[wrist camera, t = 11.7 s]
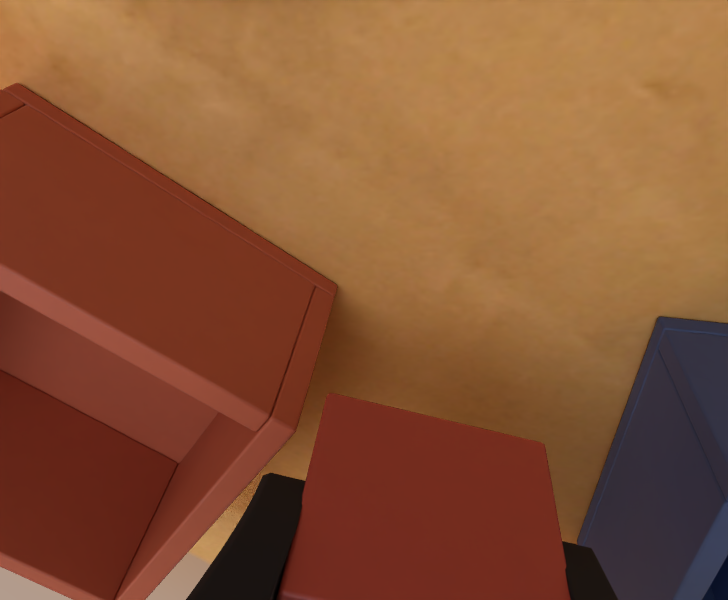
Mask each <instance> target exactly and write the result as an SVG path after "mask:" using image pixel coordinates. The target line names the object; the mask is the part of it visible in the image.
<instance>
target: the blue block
mask: <svg viewBox="0 0 728 600" xmlns="http://www.w3.org/2000/svg"><path fill="white" fill-rule="evenodd" d="M710 588H711V590H712V593H713V596H714V598H715V600H728V556H727V557H726V559H725V561H724V563H723V564H722V566H721V568H720V569H719V571H718V573H717V575H716V576H715V578H714V580H713V582H712V583H711V585H710Z"/></svg>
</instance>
